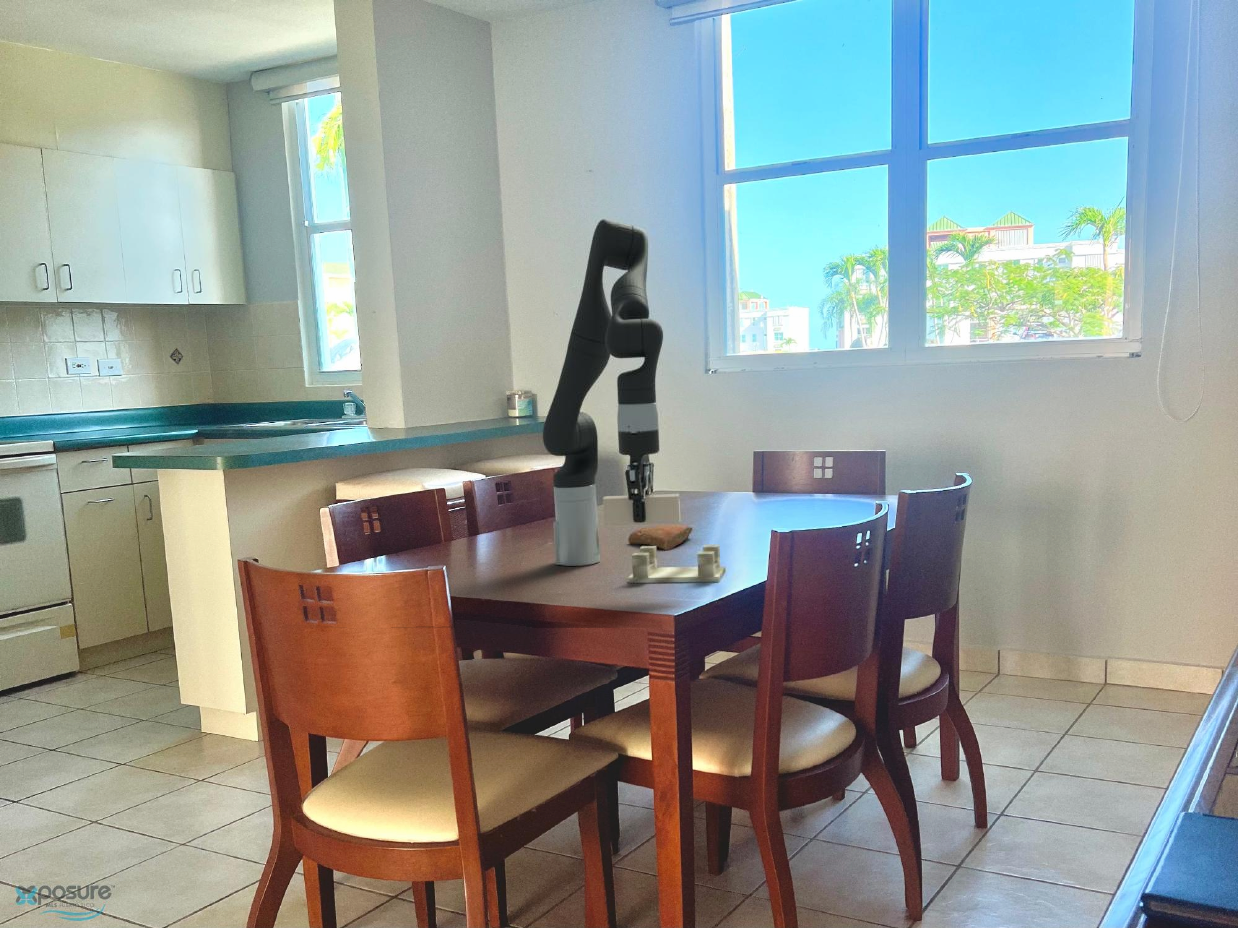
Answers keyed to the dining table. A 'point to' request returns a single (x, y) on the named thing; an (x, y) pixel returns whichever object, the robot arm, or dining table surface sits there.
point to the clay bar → (656, 509)
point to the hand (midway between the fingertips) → (642, 519)
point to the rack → (650, 573)
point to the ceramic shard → (661, 536)
